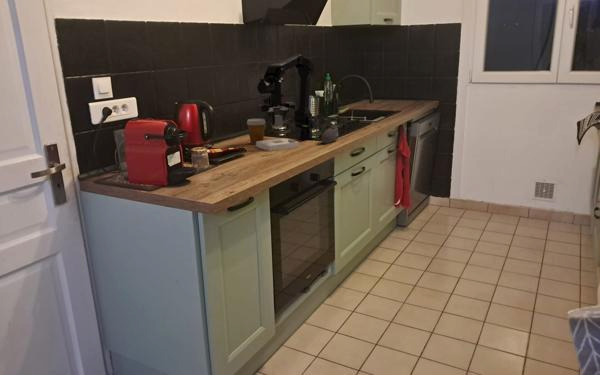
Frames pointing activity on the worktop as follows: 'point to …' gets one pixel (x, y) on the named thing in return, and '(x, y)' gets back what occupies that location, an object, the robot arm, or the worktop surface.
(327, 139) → the perforated stone tool
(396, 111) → the worktop surface
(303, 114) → the robot arm
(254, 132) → the disposable coffee cup
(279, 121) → the grey cylinder
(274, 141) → the socket plate
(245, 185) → the worktop surface
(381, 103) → the worktop surface
